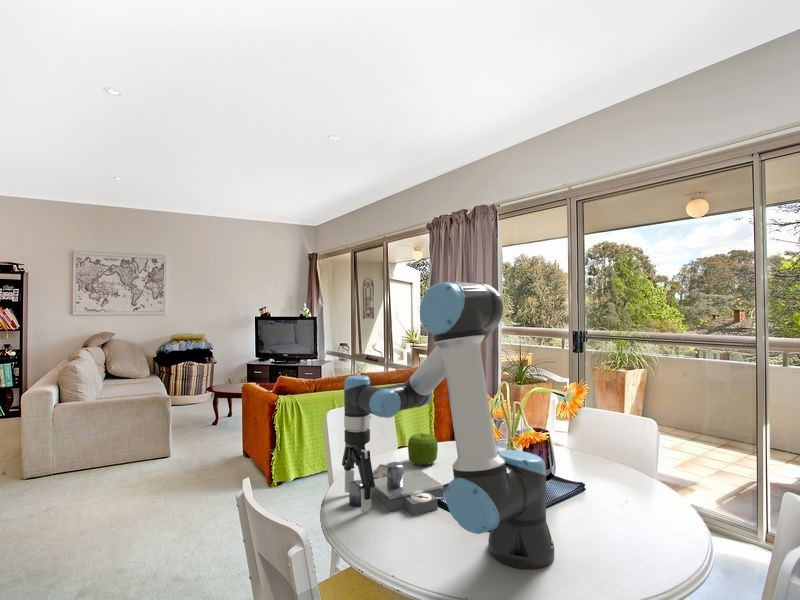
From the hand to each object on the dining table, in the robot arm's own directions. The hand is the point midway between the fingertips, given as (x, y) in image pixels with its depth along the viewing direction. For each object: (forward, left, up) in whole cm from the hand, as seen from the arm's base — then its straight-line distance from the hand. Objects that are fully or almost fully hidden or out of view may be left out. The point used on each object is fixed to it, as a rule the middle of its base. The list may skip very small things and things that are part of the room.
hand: (357, 500), depth 135 cm
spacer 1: (0, 0, -1) cm, 1 cm away
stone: (+14, -15, -2) cm, 20 cm away
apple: (+21, -34, -1) cm, 40 cm away
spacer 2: (-2, -11, +3) cm, 12 cm away
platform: (-2, -15, +2) cm, 15 cm away
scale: (-5, -15, -1) cm, 16 cm away
